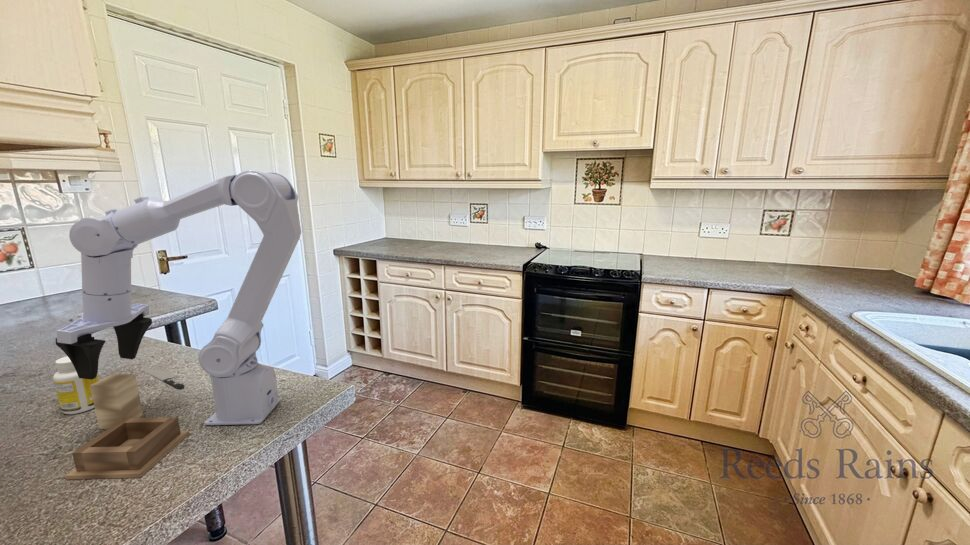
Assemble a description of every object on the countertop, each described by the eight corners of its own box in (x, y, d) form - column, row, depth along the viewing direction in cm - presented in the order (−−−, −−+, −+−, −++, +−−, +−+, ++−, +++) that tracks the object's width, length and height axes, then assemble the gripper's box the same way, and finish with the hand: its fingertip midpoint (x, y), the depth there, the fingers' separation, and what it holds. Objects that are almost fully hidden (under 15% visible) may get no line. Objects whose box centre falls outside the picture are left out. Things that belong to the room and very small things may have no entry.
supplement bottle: (100, 396, 75) (90, 349, 73) (105, 406, 72) (94, 357, 70) (60, 407, 71) (48, 358, 69) (62, 419, 68) (50, 367, 66)
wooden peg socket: (189, 433, 64) (186, 414, 64) (140, 477, 55) (136, 455, 54) (126, 435, 64) (122, 415, 63) (65, 479, 54) (60, 457, 53)
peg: (143, 414, 69) (135, 374, 68) (124, 428, 66) (115, 385, 64) (119, 415, 69) (111, 374, 68) (99, 428, 65) (89, 385, 64)
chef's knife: (154, 365, 90) (137, 369, 87) (153, 361, 90) (137, 365, 87) (196, 386, 81) (179, 391, 78) (195, 381, 80) (178, 386, 78)
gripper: (119, 277, 70) (120, 347, 72) (32, 298, 55) (37, 384, 58) (161, 283, 70) (160, 352, 73) (85, 305, 56) (87, 390, 59)
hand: (108, 367), depth 65 cm, fingers open, 7 cm apart
